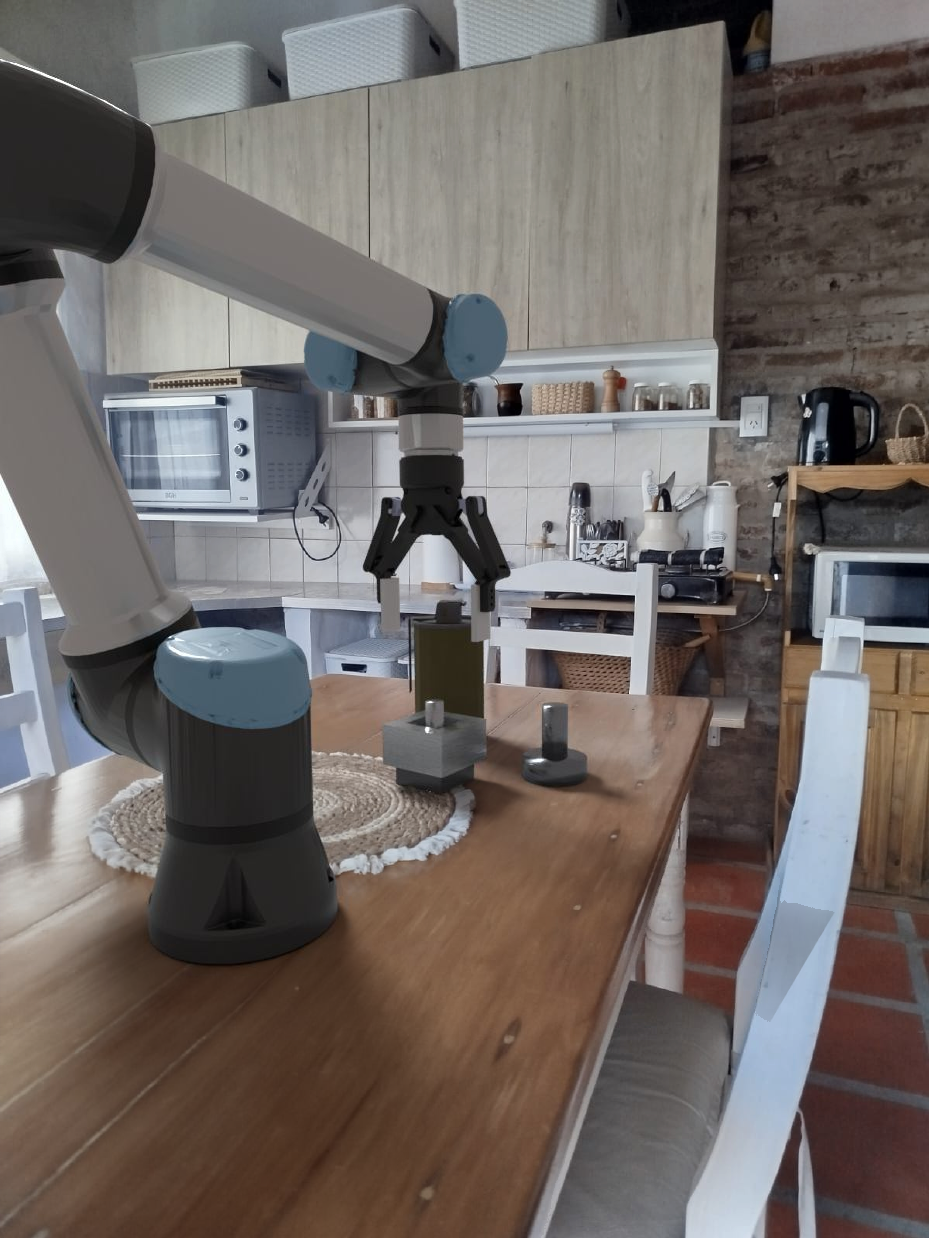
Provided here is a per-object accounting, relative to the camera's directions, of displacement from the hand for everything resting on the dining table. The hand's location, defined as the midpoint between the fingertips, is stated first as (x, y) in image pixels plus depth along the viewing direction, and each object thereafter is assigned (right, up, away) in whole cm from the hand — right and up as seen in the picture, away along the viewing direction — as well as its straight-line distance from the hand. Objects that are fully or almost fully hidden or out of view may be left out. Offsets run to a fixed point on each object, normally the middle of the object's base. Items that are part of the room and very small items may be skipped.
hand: (434, 635), depth 101 cm
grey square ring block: (0, -15, +2) cm, 16 cm away
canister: (+1, -16, +21) cm, 26 cm away
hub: (+15, -18, +4) cm, 23 cm away
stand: (0, -18, +2) cm, 18 cm away
